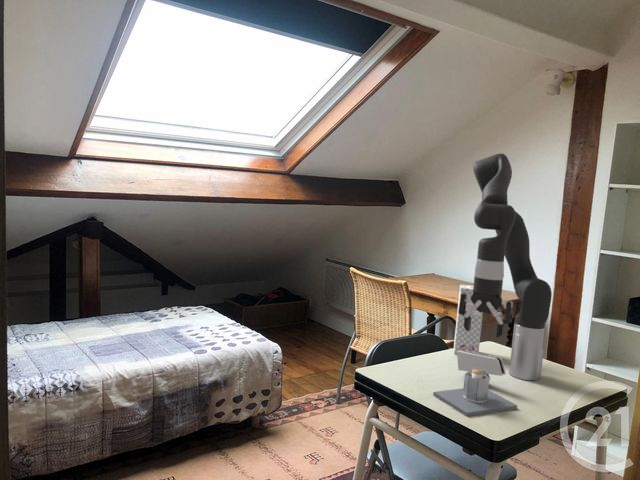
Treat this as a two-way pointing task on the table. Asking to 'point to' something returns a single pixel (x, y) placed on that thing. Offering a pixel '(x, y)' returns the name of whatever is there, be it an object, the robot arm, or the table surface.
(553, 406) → the table surface
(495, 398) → the panel
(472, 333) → the box
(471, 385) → the grey octagonal hollow block
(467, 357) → the bracket
